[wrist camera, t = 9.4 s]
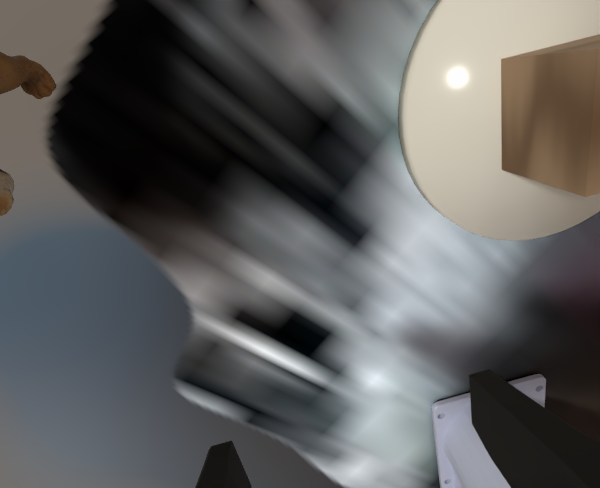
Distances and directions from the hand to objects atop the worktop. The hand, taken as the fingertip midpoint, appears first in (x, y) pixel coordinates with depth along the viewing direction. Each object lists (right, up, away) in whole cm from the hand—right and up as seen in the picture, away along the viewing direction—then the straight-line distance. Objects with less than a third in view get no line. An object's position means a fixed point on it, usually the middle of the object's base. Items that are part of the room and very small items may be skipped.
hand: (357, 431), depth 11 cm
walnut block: (+10, +12, +6) cm, 17 cm away
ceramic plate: (+10, +13, +7) cm, 18 cm away
